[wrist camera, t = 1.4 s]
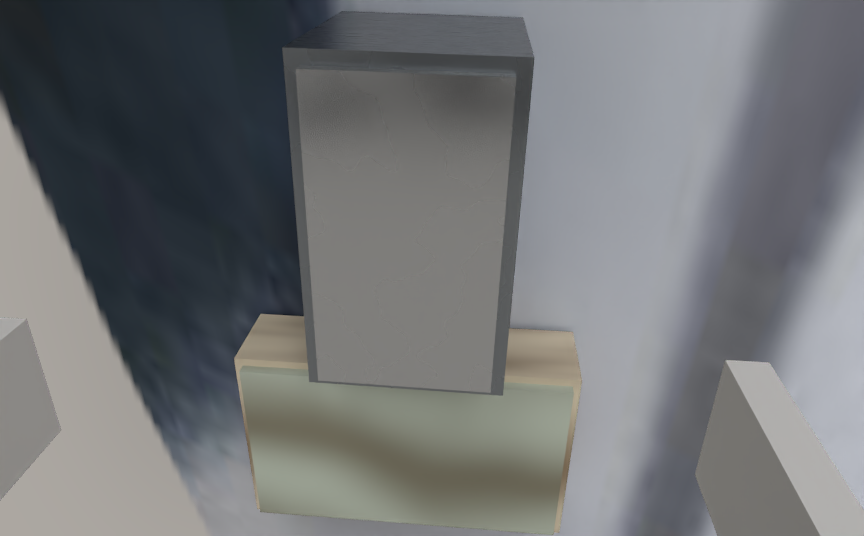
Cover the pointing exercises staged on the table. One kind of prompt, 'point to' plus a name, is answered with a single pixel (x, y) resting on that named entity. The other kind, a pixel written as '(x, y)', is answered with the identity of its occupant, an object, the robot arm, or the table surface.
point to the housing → (408, 195)
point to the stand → (410, 438)
